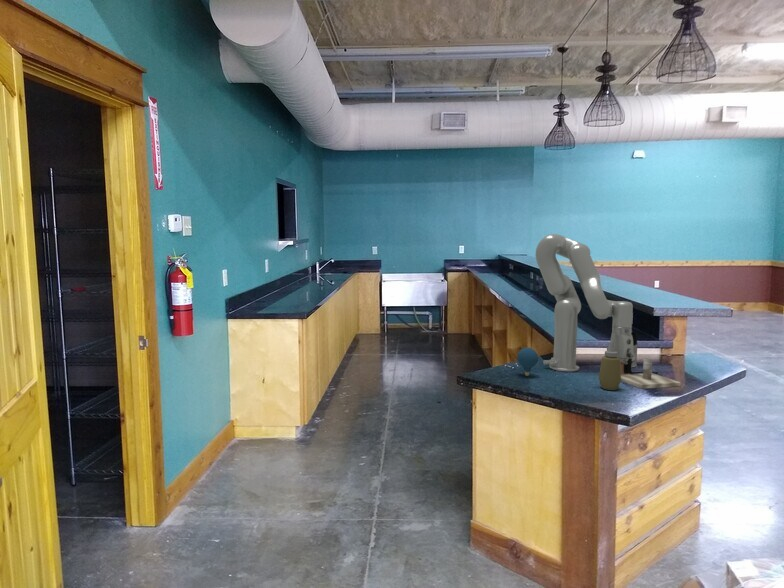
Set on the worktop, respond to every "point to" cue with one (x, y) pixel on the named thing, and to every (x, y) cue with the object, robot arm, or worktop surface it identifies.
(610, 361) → the squeeze bottle
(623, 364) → the collar
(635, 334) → the glass holder
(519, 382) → the worktop surface
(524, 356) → the light bulb
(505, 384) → the worktop surface
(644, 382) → the base
